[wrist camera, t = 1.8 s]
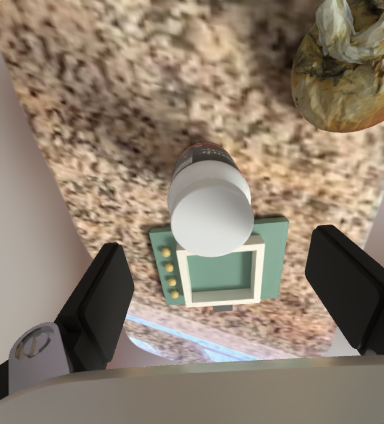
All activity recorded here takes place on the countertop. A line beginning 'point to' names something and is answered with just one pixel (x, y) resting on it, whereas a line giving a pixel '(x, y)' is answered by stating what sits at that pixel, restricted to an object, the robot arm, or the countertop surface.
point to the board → (222, 268)
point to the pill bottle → (209, 202)
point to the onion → (342, 67)
